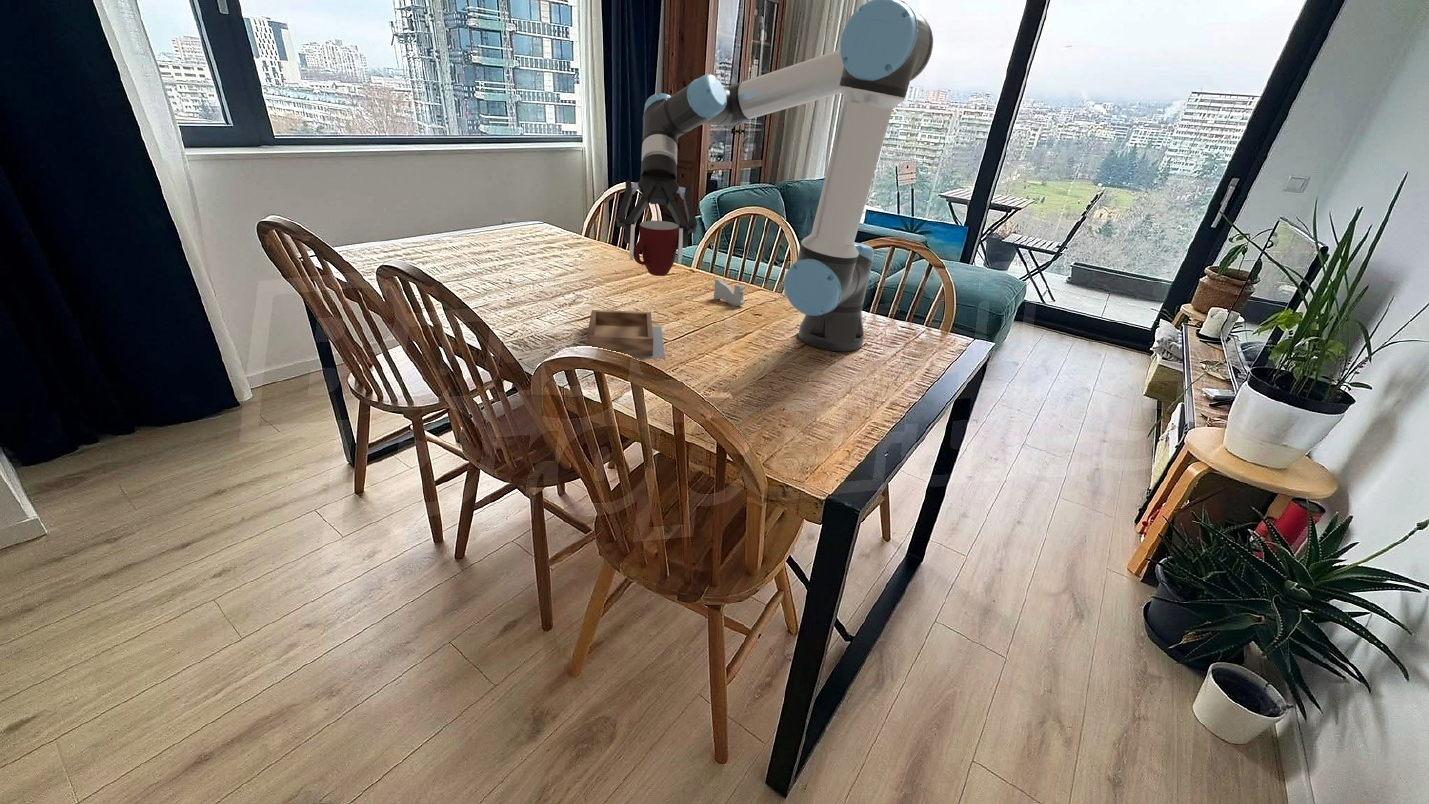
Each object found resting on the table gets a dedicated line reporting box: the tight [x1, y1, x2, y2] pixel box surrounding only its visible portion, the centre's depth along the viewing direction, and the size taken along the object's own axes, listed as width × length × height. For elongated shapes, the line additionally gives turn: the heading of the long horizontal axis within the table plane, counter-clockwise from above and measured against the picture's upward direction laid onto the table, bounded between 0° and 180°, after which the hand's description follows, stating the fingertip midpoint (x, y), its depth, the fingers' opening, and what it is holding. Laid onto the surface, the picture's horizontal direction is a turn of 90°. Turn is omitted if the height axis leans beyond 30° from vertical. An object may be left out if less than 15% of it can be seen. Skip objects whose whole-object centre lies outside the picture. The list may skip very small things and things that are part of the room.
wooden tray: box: [586, 309, 653, 356], centre depth 121 cm, size 13×16×4 cm
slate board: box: [585, 325, 666, 360], centre depth 122 cm, size 16×18×1 cm
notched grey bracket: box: [713, 277, 746, 307], centre depth 153 cm, size 6×1×10 cm
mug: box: [633, 220, 679, 277], centre depth 117 cm, size 11×8×10 cm
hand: (655, 258), depth 115 cm, fingers closed on mug, 9 cm apart
